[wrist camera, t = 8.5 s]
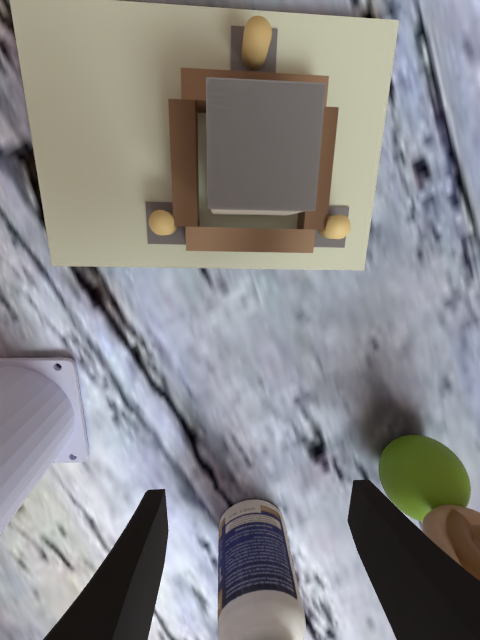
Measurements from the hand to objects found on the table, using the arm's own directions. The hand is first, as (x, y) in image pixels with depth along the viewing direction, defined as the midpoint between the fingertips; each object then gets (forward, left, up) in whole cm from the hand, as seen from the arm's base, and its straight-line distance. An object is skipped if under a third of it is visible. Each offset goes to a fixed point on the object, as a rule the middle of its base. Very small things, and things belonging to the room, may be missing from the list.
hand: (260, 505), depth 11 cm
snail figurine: (+12, -6, -10) cm, 17 cm away
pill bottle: (+1, -13, -10) cm, 17 cm away
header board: (-2, +14, -10) cm, 17 cm away
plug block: (0, +13, -9) cm, 15 cm away
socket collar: (0, +13, -9) cm, 16 cm away
